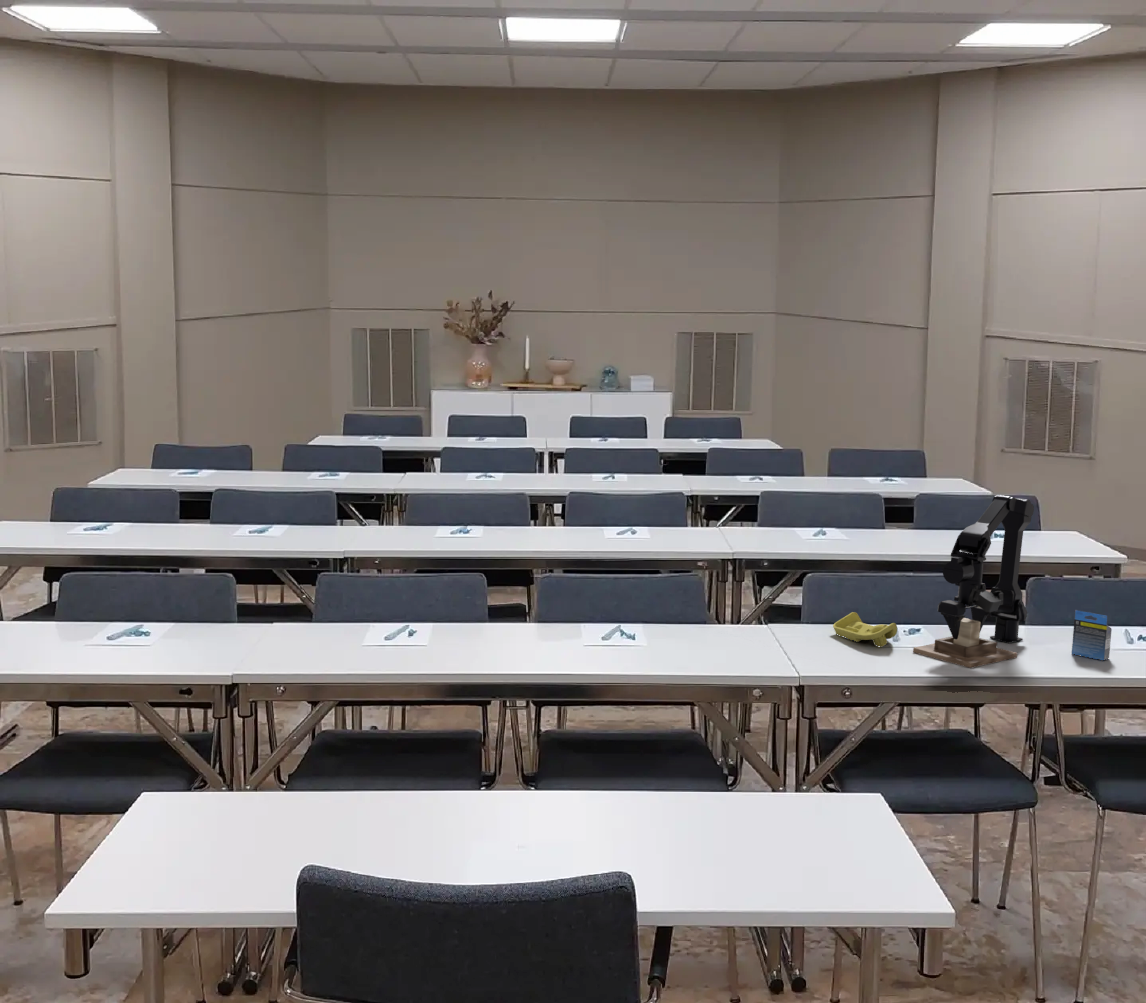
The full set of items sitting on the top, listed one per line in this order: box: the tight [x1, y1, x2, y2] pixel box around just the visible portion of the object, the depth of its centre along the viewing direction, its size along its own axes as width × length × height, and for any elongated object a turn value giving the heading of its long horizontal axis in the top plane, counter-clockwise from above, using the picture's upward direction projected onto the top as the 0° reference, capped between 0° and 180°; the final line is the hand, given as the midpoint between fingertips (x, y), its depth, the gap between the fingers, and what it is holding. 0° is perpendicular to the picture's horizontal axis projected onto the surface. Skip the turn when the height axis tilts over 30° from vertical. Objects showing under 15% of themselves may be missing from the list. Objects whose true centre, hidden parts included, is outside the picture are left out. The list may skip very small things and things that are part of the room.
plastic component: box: [832, 611, 898, 648], centre depth 350 cm, size 20×7×10 cm
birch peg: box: [954, 617, 981, 647], centre depth 338 cm, size 4×5×8 cm
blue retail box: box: [1071, 609, 1112, 661], centre depth 340 cm, size 9×4×12 cm, turn 45°
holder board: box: [912, 635, 1018, 669], centre depth 339 cm, size 20×18×4 cm
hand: (966, 636), depth 338 cm, fingers open, 9 cm apart
